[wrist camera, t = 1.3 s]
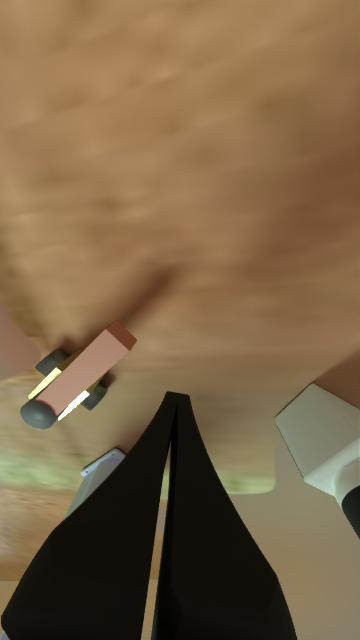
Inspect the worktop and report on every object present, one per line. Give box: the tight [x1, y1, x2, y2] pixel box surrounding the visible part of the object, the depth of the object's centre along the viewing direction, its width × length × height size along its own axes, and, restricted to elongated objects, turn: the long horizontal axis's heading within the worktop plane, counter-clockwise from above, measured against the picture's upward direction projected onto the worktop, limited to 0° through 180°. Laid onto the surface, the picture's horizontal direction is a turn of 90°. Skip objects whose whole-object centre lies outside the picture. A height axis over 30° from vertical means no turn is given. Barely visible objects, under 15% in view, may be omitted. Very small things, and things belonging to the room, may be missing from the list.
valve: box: [28, 348, 108, 420], centre depth 21 cm, size 6×8×4 cm
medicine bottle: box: [274, 384, 360, 539], centre depth 17 cm, size 7×7×12 cm
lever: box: [19, 320, 137, 431], centre depth 16 cm, size 14×3×2 cm, turn 133°
